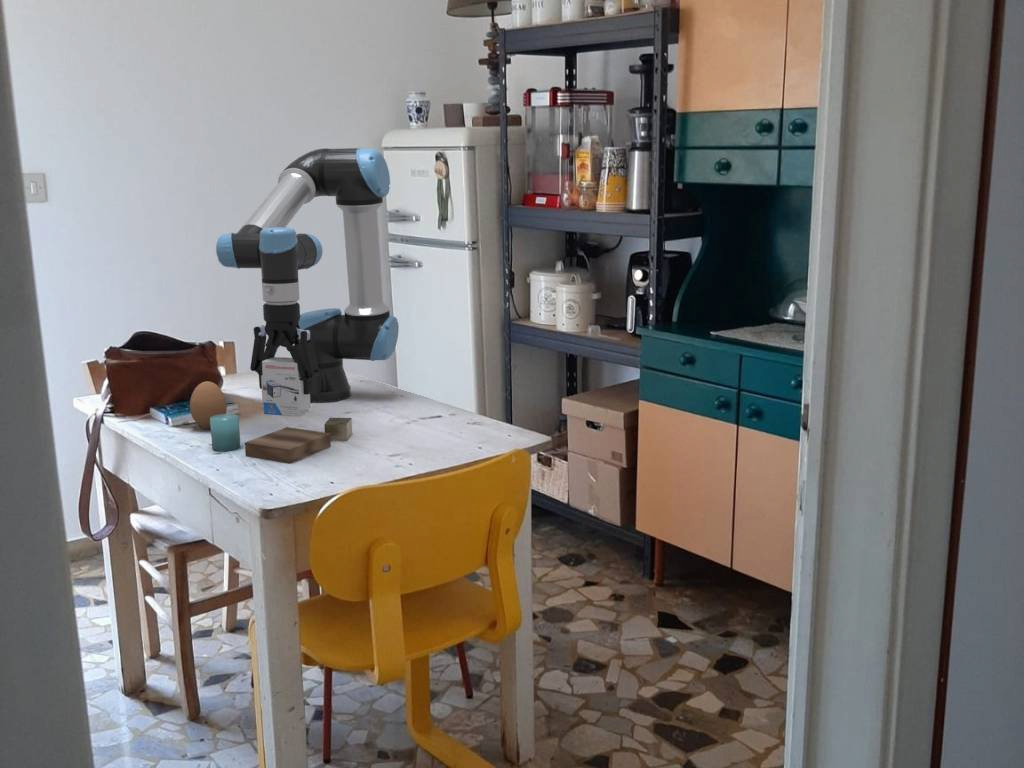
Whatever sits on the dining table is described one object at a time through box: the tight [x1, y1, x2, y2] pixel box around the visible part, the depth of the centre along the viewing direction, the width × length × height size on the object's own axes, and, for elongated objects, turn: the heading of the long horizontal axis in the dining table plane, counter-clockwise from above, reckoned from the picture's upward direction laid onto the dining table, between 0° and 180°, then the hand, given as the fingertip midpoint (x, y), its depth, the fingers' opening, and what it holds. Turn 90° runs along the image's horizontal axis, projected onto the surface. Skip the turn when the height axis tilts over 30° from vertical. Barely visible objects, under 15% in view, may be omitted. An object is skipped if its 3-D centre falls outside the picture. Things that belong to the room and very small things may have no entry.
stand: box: [244, 426, 332, 464], centre depth 213 cm, size 14×12×3 cm
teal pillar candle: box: [210, 413, 241, 453], centre depth 215 cm, size 6×6×7 cm
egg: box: [189, 380, 228, 430], centre depth 231 cm, size 8×8×11 cm
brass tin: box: [324, 417, 353, 442], centre depth 224 cm, size 6×5×4 cm
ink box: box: [262, 356, 310, 417], centre depth 210 cm, size 9×5×12 cm, turn 78°
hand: (286, 406), depth 211 cm, fingers closed on ink box, 9 cm apart
